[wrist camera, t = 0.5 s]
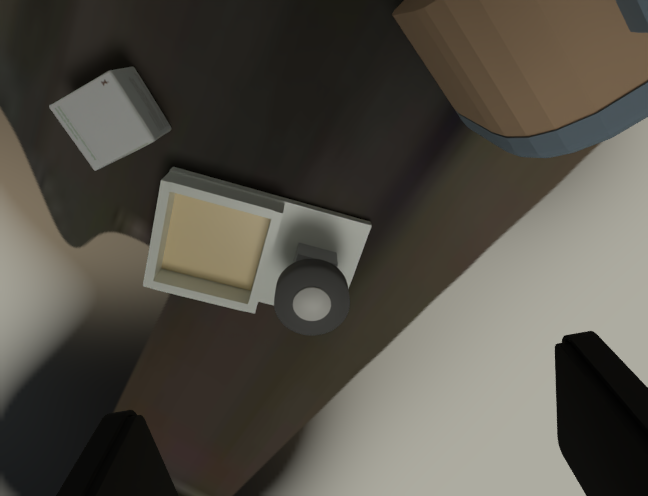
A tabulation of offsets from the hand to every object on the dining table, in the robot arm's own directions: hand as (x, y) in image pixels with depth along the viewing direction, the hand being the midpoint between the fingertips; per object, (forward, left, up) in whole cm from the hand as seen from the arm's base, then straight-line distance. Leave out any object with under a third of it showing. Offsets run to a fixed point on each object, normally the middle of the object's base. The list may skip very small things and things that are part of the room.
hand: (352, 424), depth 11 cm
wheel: (+2, -11, -29) cm, 32 cm away
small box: (-16, -3, -33) cm, 37 cm away
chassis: (-3, -11, -33) cm, 35 cm away
